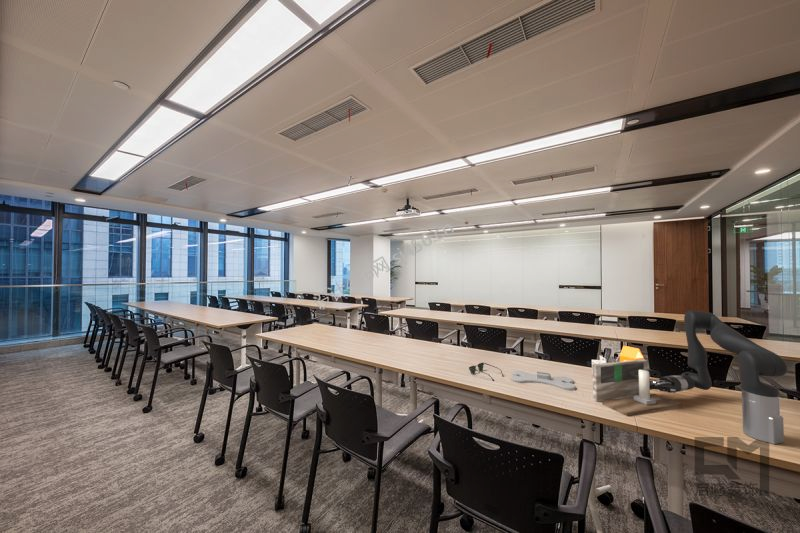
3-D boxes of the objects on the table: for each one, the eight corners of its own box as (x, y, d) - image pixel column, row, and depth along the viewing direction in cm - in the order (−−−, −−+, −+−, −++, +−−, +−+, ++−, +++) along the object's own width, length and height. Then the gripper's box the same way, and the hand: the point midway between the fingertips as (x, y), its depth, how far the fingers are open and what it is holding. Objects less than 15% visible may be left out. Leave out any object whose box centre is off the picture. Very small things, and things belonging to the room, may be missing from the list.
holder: (576, 392, 156) (576, 383, 156) (510, 382, 171) (509, 373, 171) (572, 380, 173) (572, 372, 174) (512, 372, 188) (512, 364, 188)
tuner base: (681, 407, 138) (680, 369, 138) (627, 416, 129) (626, 375, 130) (643, 392, 154) (642, 359, 154) (593, 400, 146) (592, 364, 146)
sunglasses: (491, 382, 170) (491, 374, 170) (468, 375, 183) (468, 367, 183) (506, 376, 181) (506, 368, 181) (483, 369, 194) (483, 362, 194)
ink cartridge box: (591, 378, 175) (590, 354, 176) (600, 379, 174) (600, 354, 175) (598, 384, 167) (597, 358, 167) (607, 384, 166) (607, 359, 166)
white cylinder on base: (656, 403, 138) (655, 372, 138) (646, 404, 136) (645, 373, 136) (632, 394, 148) (632, 365, 148) (623, 395, 146) (623, 366, 147)
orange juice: (628, 377, 177) (627, 344, 178) (644, 382, 169) (643, 348, 169) (619, 379, 174) (619, 346, 175) (636, 384, 166) (635, 349, 167)
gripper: (658, 371, 151) (633, 374, 147) (689, 380, 138) (662, 384, 134) (658, 386, 151) (633, 389, 147) (689, 396, 138) (662, 400, 134)
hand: (647, 387), depth 140 cm, fingers closed
